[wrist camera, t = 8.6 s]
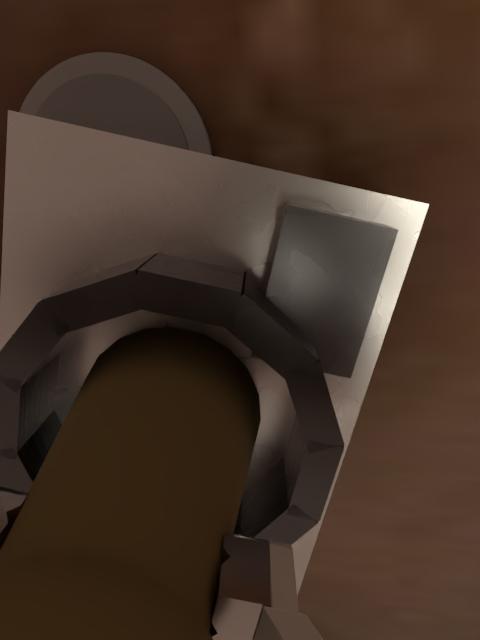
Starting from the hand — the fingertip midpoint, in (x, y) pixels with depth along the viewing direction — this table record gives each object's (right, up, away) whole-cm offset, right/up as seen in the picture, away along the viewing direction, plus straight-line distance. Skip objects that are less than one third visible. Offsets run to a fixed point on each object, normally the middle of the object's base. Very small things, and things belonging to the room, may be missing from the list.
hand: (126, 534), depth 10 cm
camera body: (0, +3, +9) cm, 10 cm away
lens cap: (-2, +10, +7) cm, 12 cm away
